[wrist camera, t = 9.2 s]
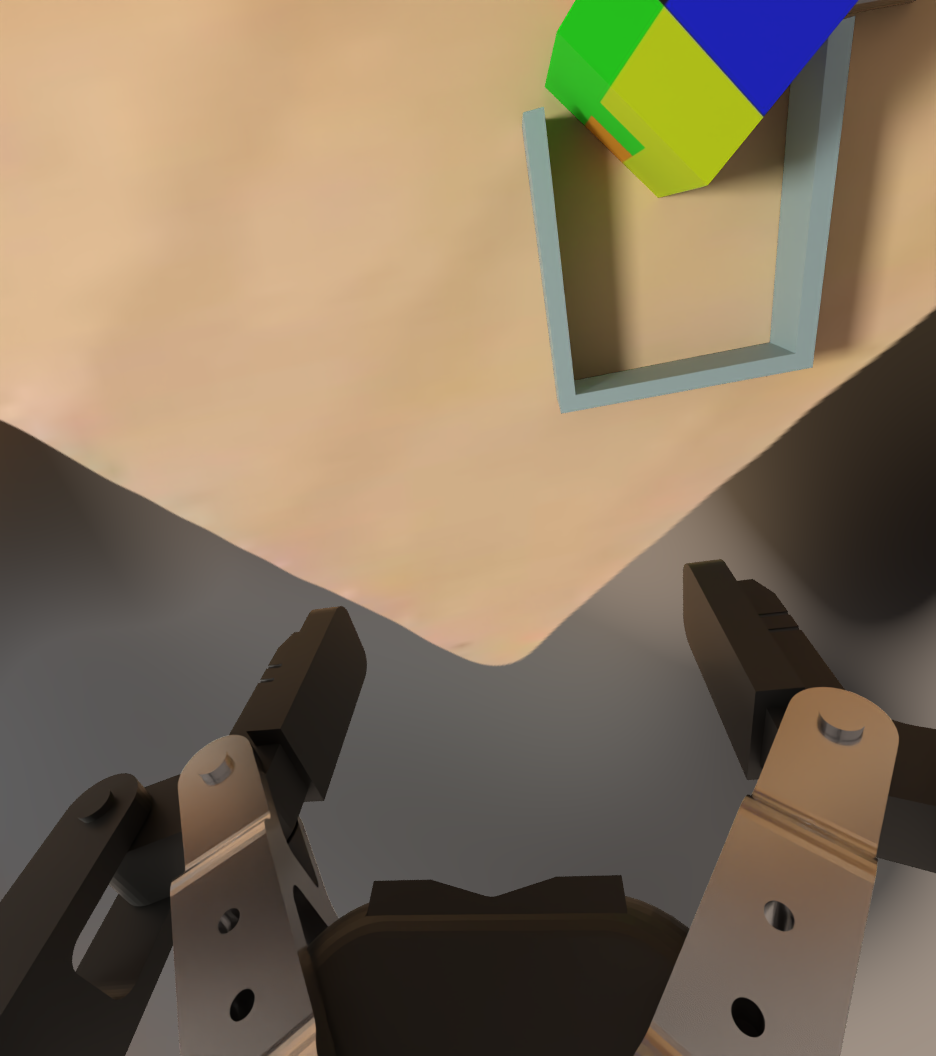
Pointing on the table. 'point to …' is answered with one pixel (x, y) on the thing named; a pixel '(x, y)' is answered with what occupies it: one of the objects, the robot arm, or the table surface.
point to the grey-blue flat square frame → (798, 248)
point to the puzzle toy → (682, 76)
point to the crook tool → (875, 4)
